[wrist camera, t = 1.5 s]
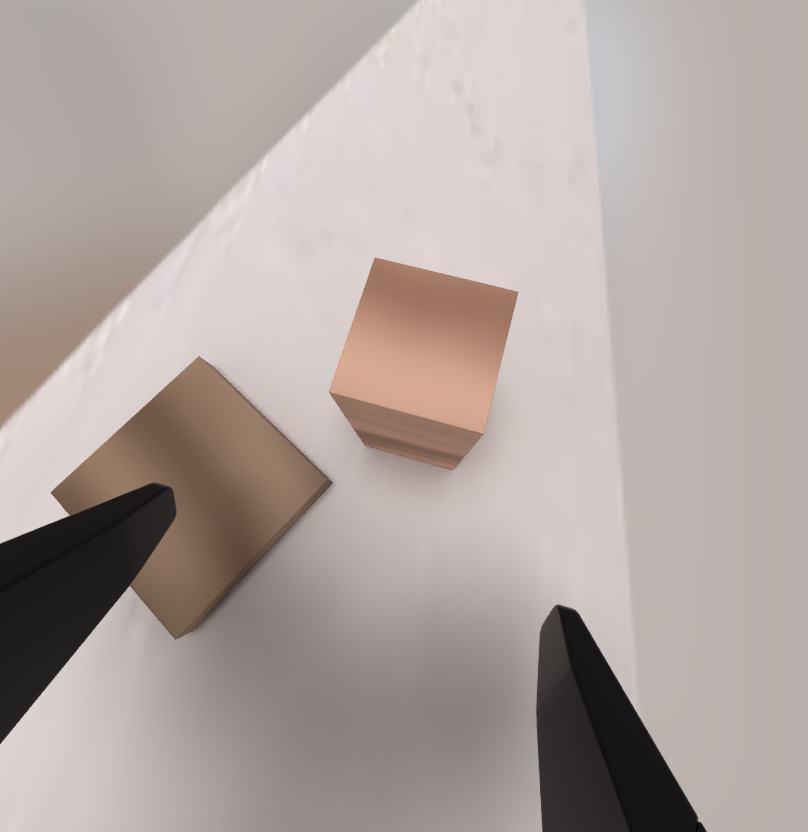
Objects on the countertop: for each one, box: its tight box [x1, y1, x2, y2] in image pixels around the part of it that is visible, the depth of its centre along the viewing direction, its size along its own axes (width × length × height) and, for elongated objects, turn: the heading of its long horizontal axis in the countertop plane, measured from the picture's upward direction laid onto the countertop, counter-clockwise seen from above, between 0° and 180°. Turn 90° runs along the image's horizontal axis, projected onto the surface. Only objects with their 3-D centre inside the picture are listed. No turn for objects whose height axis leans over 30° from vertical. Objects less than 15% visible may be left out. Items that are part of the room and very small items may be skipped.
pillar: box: [329, 258, 518, 470], centre depth 18 cm, size 5×5×10 cm
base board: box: [51, 356, 333, 640], centre depth 21 cm, size 10×10×2 cm
